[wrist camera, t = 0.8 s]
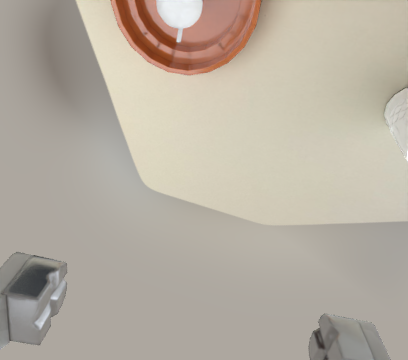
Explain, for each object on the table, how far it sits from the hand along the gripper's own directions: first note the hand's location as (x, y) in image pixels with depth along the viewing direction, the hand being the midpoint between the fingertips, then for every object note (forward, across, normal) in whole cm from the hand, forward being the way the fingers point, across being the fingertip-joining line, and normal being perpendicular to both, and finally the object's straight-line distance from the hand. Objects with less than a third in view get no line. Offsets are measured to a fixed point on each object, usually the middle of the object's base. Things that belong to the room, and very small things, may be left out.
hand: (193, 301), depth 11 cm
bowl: (+38, +6, -9) cm, 39 cm away
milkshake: (+38, +6, -9) cm, 39 cm away
